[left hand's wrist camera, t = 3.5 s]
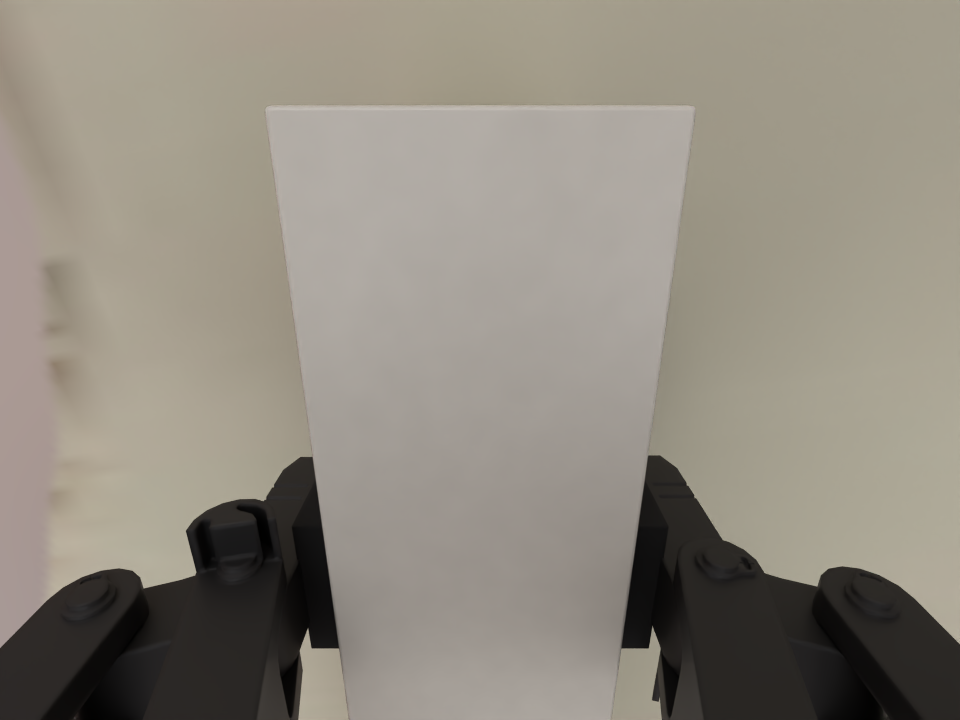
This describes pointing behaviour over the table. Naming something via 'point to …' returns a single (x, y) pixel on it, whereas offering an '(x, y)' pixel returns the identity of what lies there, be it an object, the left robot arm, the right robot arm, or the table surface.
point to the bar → (480, 387)
